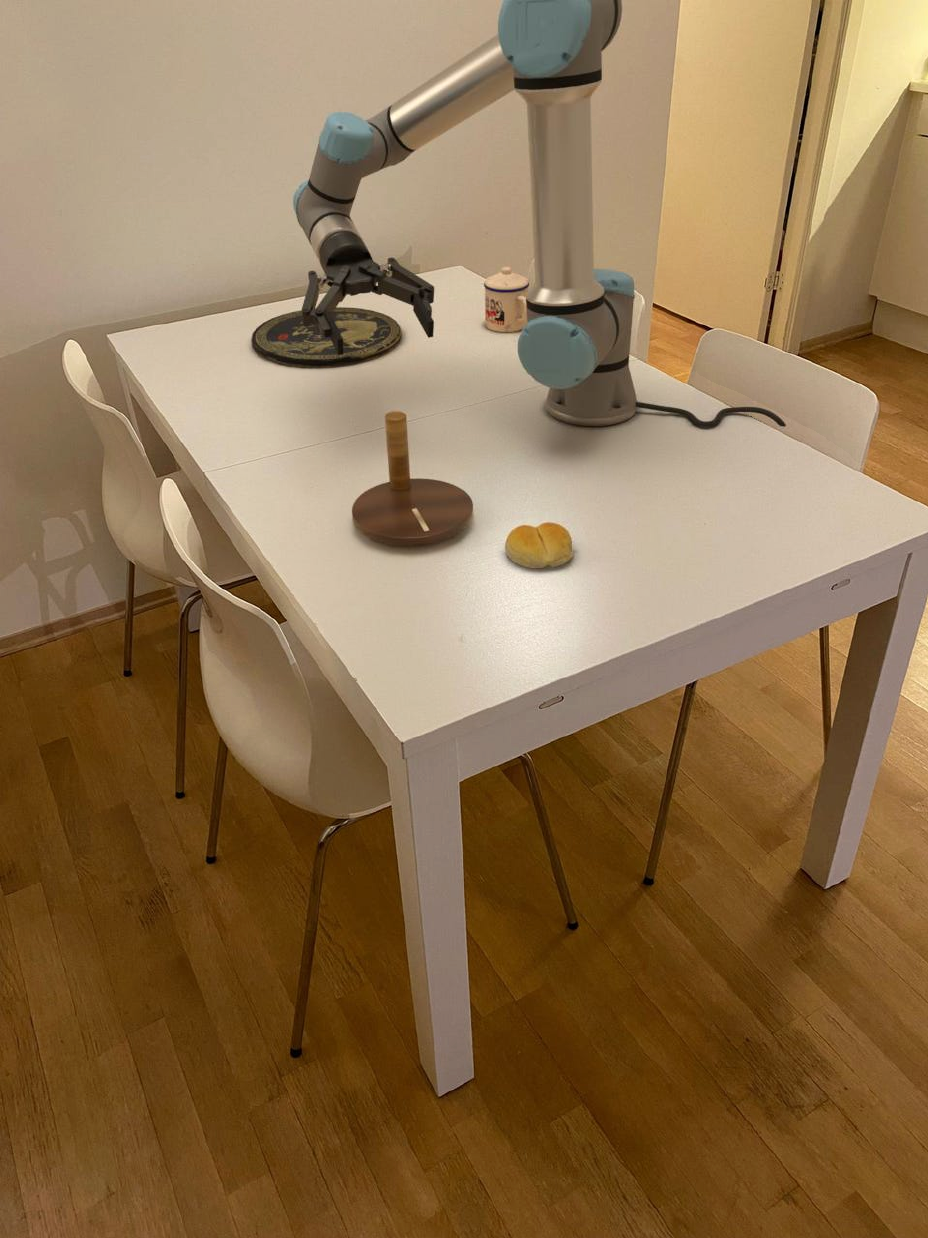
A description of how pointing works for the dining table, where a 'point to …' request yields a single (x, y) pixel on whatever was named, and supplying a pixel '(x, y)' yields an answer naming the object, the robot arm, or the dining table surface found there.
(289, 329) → the decorative plate
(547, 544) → the bread roll
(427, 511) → the turntable
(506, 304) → the teacup with lid
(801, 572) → the dining table surface
